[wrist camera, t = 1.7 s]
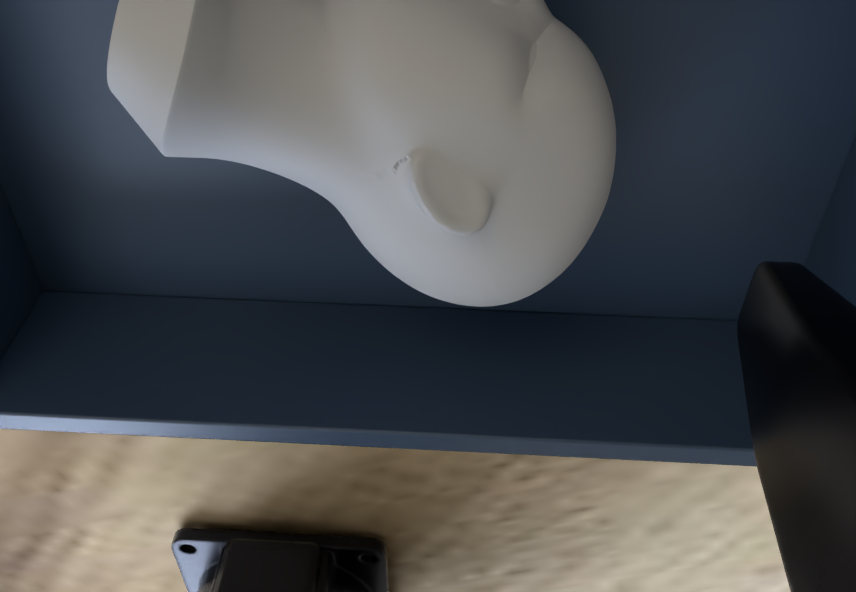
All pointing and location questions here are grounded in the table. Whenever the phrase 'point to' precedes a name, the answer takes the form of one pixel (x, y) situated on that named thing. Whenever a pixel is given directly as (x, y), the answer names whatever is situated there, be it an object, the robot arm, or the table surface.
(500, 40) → the smooth white sculpture
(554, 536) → the table surface
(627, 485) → the table surface
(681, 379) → the box
